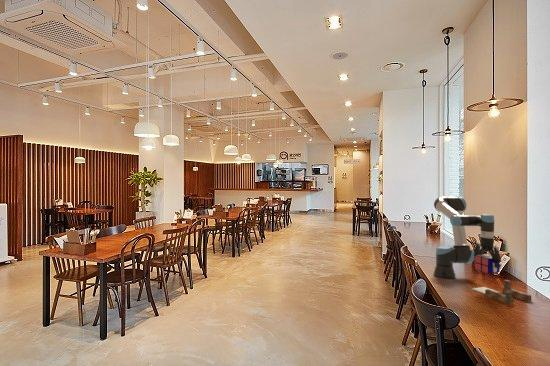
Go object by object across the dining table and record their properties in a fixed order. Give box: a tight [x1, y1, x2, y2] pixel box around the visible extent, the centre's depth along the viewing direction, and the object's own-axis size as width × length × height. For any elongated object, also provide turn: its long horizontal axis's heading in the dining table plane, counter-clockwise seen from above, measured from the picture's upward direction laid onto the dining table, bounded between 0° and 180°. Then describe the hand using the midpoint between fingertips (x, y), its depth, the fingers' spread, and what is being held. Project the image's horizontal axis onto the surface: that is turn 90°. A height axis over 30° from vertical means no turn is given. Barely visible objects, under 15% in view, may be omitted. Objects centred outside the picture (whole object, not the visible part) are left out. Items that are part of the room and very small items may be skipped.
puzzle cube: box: [474, 253, 500, 275], centre depth 207 cm, size 10×10×10 cm
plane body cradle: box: [484, 279, 532, 306], centre depth 195 cm, size 16×18×9 cm
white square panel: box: [471, 286, 501, 295], centre depth 208 cm, size 11×11×1 cm
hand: (486, 269), depth 208 cm, fingers closed on puzzle cube, 10 cm apart
